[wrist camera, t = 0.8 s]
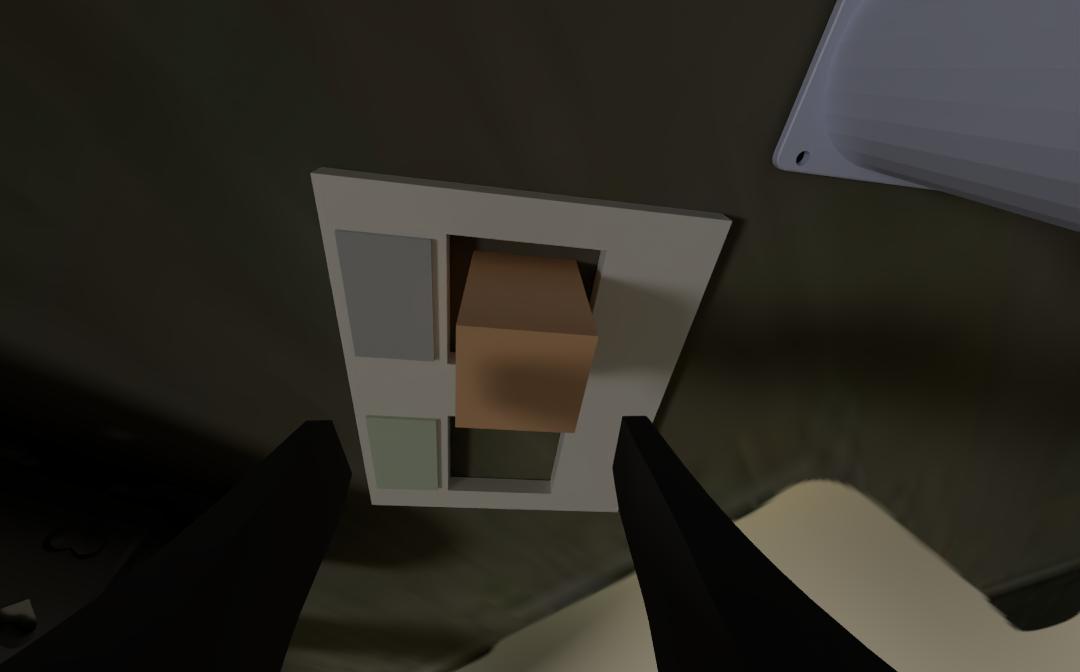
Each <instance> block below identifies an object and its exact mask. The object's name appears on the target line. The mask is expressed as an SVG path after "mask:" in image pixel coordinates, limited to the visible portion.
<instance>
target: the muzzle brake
mask: <svg viewBox="0 0 1080 672" xmlns="http://www.w3.org/2000/svg"><path fill="white" fill-rule="evenodd" d="M32 446H33V444H30V443H26V442H23V441H20V442H17V443H15V444H13V443H10V442H7V441H4V440H1V439H0V664H1V663H3V662H4V661H6V660H7V659H9V658H10V657H12V656H13V655H15V654H16V653H18V652H19V651H21V650H22V649H24V648H25V647H27V646H28V645H29V644H31V643H32V642H34V641H35V640H37V639H38V638H40V637H41V636H42V635H44V634H45V633H47V632H48V631H50V630H51V629H53V628H54V627H55V626H57V625H58V624H60V623H61V622H63V621H64V620H65V619H67V618H68V617H70V616H71V615H73V614H74V613H76V612H77V611H78V610H80V609H81V608H83V607H84V606H86V605H87V604H89V603H90V602H91V601H93V600H94V599H96V598H97V597H98V596H100V595H101V594H102V593H104V592H105V591H106V590H108V589H109V588H110V587H112V586H113V585H114V584H116V583H117V582H118V581H120V580H121V579H122V578H124V577H125V576H126V575H128V574H129V573H130V572H132V571H133V570H134V569H136V568H137V567H138V566H140V565H141V564H142V563H144V562H145V561H146V560H147V559H149V558H150V557H151V556H153V555H154V554H155V553H156V552H158V551H159V550H160V549H161V548H163V547H164V546H165V545H166V544H168V543H169V542H170V541H171V540H173V539H174V538H175V537H176V536H177V535H178V534H180V533H181V532H182V531H183V530H184V529H186V528H187V527H188V526H189V525H190V524H192V523H193V522H194V521H195V520H196V519H197V518H199V517H200V516H201V515H202V514H203V513H205V512H206V511H207V510H208V509H209V508H210V507H212V506H213V505H214V504H215V503H216V502H217V500H215V499H212V498H209V497H206V496H203V495H200V494H197V493H193V492H190V491H187V490H184V489H181V488H178V487H175V486H172V485H169V484H166V483H163V482H158V483H156V484H154V485H152V486H150V487H148V488H146V489H144V490H141V489H137V488H134V487H131V486H128V485H125V484H121V483H118V482H115V481H112V480H109V479H106V478H102V477H99V476H96V475H93V474H90V473H86V472H83V471H80V470H77V469H74V468H70V467H67V466H64V465H61V464H58V463H54V462H51V461H48V460H45V459H42V458H38V457H35V456H32V455H30V454H31V450H32Z"/></svg>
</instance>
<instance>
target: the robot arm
mask: <svg viewBox="0 0 1080 672" xmlns="http://www.w3.org/2000/svg"><path fill="white" fill-rule="evenodd" d="M802 151H804V157H803V159H802V160H801V161H800V162H798V163H796V158H797V156H798V155H799V154H800V153H801V152H802ZM772 159H773V164H774V165H775V167H777V168H779V169H782V170H785V171H793V172H800V173H808V174H816V175H823V176H831V177H839V178H846V179H854V180H861V181H869V182H877V183H884V184H892V185H900V186H907V187H915V188H923V189H930V190H938V191H942V192H946V193H949V194H952V195H956V196H959V197H963V198H966V199H969V200H973V201H976V202H979V203H983V204H986V205H990V206H993V207H996V208H1000V209H1003V210H1006V211H1010V212H1013V213H1017V214H1020V215H1023V216H1027V217H1030V218H1034V219H1037V220H1040V221H1044V222H1047V223H1050V224H1054V225H1057V226H1061V227H1064V228H1067V229H1071V230H1074V231H1077V232H1080V0H837V2H836V4H835V7H834V9H833V12H832V14H831V16H830V19H829V21H828V24H827V26H826V28H825V31H824V33H823V36H822V38H821V40H820V43H819V45H818V48H817V50H816V53H815V55H814V57H813V60H812V62H811V65H810V67H809V69H808V72H807V74H806V77H805V79H804V81H803V84H802V86H801V89H800V91H799V94H798V96H797V98H796V101H795V103H794V106H793V108H792V110H791V113H790V115H789V118H788V120H787V122H786V125H785V127H784V130H783V132H782V135H781V137H780V139H779V142H778V144H777V147H776V149H775V151H774V154H773V158H772ZM612 470H613V477H614V484H615V490H616V496H617V502H618V508H619V512H620V515H621V519H622V523H623V526H624V530H625V534H626V538H627V541H628V545H629V548H630V552H631V556H632V559H633V563H634V567H635V570H636V574H637V577H638V580H639V584H640V588H641V592H642V596H643V599H644V603H645V607H646V612H647V616H648V620H649V625H650V630H651V636H652V641H653V647H654V652H655V657H656V662H657V668H658V672H897V671H896V670H895V669H893V668H892V667H891V666H890V665H888V664H887V663H886V662H885V661H883V660H882V659H881V658H880V657H878V656H877V655H876V654H875V653H873V652H872V651H871V650H870V649H868V648H867V647H866V646H865V645H864V644H862V643H861V642H860V641H859V640H858V639H857V638H856V637H854V636H853V635H852V634H851V633H850V632H848V631H847V630H846V629H845V628H844V627H843V626H842V625H840V624H839V623H838V622H837V621H836V620H834V619H833V618H832V617H831V616H830V615H829V614H828V613H827V612H825V611H824V610H823V609H822V608H821V607H820V606H818V605H817V604H816V603H815V602H814V601H813V600H811V599H810V598H809V597H808V596H807V595H806V594H805V593H804V592H803V591H802V590H801V589H799V588H798V587H797V586H796V585H795V584H794V583H793V582H792V581H791V580H790V579H789V578H788V577H787V576H786V575H784V574H783V573H782V572H781V571H780V570H779V569H778V568H777V567H776V566H775V565H774V564H773V563H772V562H771V561H770V560H769V559H768V558H767V557H766V556H765V555H764V554H763V553H762V552H761V551H760V550H759V549H758V548H757V547H756V546H755V545H754V544H753V543H752V542H751V541H750V540H749V539H748V538H747V537H746V536H745V535H744V534H743V533H742V532H741V530H740V529H739V528H738V527H737V526H736V525H735V524H734V523H733V522H732V521H731V520H730V518H729V517H728V516H727V515H726V514H725V513H724V512H723V511H722V510H721V509H720V507H719V506H718V505H717V504H716V503H715V502H714V500H713V499H712V498H711V497H710V496H709V495H708V494H707V492H706V491H705V490H704V489H703V487H702V486H701V485H700V484H699V483H698V481H697V480H696V479H695V478H694V477H693V475H692V474H691V473H690V472H689V471H688V469H687V468H686V467H685V466H684V464H683V463H682V462H681V460H680V459H679V458H678V457H677V455H676V454H675V453H674V451H673V450H672V449H671V448H670V446H669V445H668V444H667V442H666V441H665V440H664V438H663V437H662V436H661V434H660V433H659V431H658V430H657V429H656V427H655V426H654V425H653V423H652V422H651V421H650V419H649V418H648V417H647V416H622V420H621V426H620V431H619V436H618V441H617V446H616V451H615V456H614V461H613V466H612ZM351 476H352V472H351V470H350V467H349V464H348V462H347V459H346V456H345V454H344V451H343V448H342V446H341V443H340V440H339V438H338V435H337V433H336V430H335V427H334V425H333V422H332V420H322V421H306V422H304V423H303V424H302V425H301V426H300V427H299V428H298V429H297V430H296V431H294V432H293V433H292V434H291V435H290V436H289V437H288V438H287V439H286V440H285V441H284V442H283V443H281V444H280V445H279V446H278V447H277V448H276V449H275V450H274V451H273V452H272V453H271V454H270V455H269V456H267V457H266V458H265V459H264V460H263V461H262V462H261V463H260V464H259V465H258V466H257V467H256V468H254V469H253V470H252V471H251V472H250V473H249V474H248V475H247V476H246V477H244V478H243V479H242V480H241V481H240V482H239V483H238V484H237V485H236V486H234V487H233V488H232V489H231V490H230V491H229V492H228V493H227V494H226V495H225V496H223V497H222V498H221V499H220V500H219V501H218V502H216V503H215V504H214V505H213V506H212V507H210V508H209V509H208V510H207V511H206V512H205V513H203V514H202V515H201V516H200V517H199V518H197V519H196V520H195V521H194V522H193V523H192V524H190V525H189V526H188V527H187V528H186V529H184V530H183V531H182V532H181V533H180V534H178V535H177V536H176V537H175V538H174V539H173V540H171V541H170V542H169V543H168V544H166V545H165V546H164V547H163V548H161V549H160V550H159V551H158V552H156V553H155V554H154V555H153V556H151V557H150V558H149V559H147V560H146V561H145V562H144V563H142V564H141V565H140V566H138V567H137V568H136V569H134V570H133V571H132V572H130V573H129V574H128V575H126V576H125V577H124V578H122V579H121V580H120V581H118V582H117V583H116V584H114V585H113V586H112V587H110V588H109V589H108V590H106V591H105V592H104V593H102V594H101V595H100V596H98V597H97V598H96V599H94V600H93V601H91V602H90V603H89V604H87V605H86V606H84V607H83V608H81V609H80V610H78V611H77V612H76V613H74V614H73V615H71V616H70V617H68V618H67V619H65V620H64V621H63V622H61V623H60V624H58V625H57V626H55V627H54V628H53V629H51V630H50V631H48V632H47V633H45V634H44V635H42V636H41V637H40V638H38V639H37V640H35V641H34V642H32V643H31V644H29V645H28V646H27V647H25V648H24V649H22V650H21V651H19V652H18V653H16V654H15V655H13V656H12V657H10V658H9V659H7V660H6V661H4V662H3V663H1V664H0V672H280V671H281V668H282V665H283V662H284V659H285V655H286V652H287V649H288V646H289V643H290V640H291V637H292V634H293V631H294V628H295V626H296V623H297V620H298V618H299V615H300V612H301V610H302V608H303V605H304V603H305V600H306V598H307V596H308V593H309V591H310V588H311V586H312V584H313V581H314V579H315V576H316V574H317V572H318V569H319V567H320V564H321V562H322V560H323V557H324V555H325V552H326V550H327V547H328V545H329V543H330V540H331V538H332V535H333V533H334V530H335V528H336V525H337V523H338V520H339V518H340V515H341V512H342V509H343V505H344V502H345V498H346V495H347V491H348V487H349V483H350V480H351Z"/></svg>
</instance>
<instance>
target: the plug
mask: <svg viewBox="0 0 1080 672" xmlns="http://www.w3.org/2000/svg"><path fill="white" fill-rule="evenodd" d="M598 337H599V336H598V332H597V329H596V326H595V322H594V319H593V316H592V312H591V309H590V306H589V302H588V299H587V296H586V292H585V289H584V286H583V282H582V279H581V276H580V272H579V269H578V266H577V262H576V260H565V259H555V258H545V257H535V256H525V255H515V254H504V253H494V252H484V251H473V255H472V260H471V264H470V268H469V272H468V277H467V281H466V285H465V289H464V294H463V298H462V302H461V306H460V311H459V315H458V319H457V323H456V392H455V427H462V428H482V429H502V430H522V431H542V432H561V433H575V429H576V425H577V421H578V417H579V413H580V409H581V405H582V401H583V397H584V393H585V389H586V385H587V381H588V377H589V373H590V369H591V365H592V361H593V357H594V353H595V349H596V345H597V341H598Z"/></svg>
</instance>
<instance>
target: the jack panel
mask: <svg viewBox="0 0 1080 672" xmlns="http://www.w3.org/2000/svg"><path fill="white" fill-rule="evenodd" d="M311 179H312V184H313V189H314V195H315V200H316V206H317V211H318V216H319V222H320V227H321V233H322V238H323V243H324V249H325V254H326V260H327V265H328V270H329V276H330V281H331V287H332V292H333V297H334V303H335V308H336V314H337V319H338V324H339V330H340V335H341V341H342V346H343V351H344V357H345V362H346V368H347V373H348V378H349V384H350V389H351V395H352V400H353V405H354V411H355V416H356V422H357V427H358V432H359V438H360V443H361V449H362V454H363V459H364V465H365V470H366V476H367V481H368V486H369V492H370V497H371V503H372V505H396V506H429V507H463V508H497V509H530V510H564V511H597V512H617V511H618V509H619V508H618V502H617V496H616V490H615V484H614V477H613V470H612V466H613V461H614V456H615V451H616V446H617V441H618V436H619V431H620V426H621V420H622V416H647V417H648V418H649V419H650V421H651V422H652V423H653V420H654V418H655V415H656V413H657V410H658V408H659V405H660V403H661V400H662V398H663V395H664V393H665V390H666V388H667V385H668V383H669V380H670V377H671V375H672V372H673V370H674V367H675V365H676V362H677V360H678V357H679V355H680V352H681V350H682V347H683V345H684V342H685V340H686V337H687V335H688V332H689V330H690V327H691V324H692V322H693V319H694V317H695V314H696V312H697V309H698V307H699V304H700V302H701V299H702V297H703V294H704V292H705V289H706V287H707V284H708V282H709V279H710V277H711V274H712V271H713V269H714V266H715V264H716V261H717V259H718V256H719V254H720V251H721V249H722V246H723V244H724V241H725V239H726V236H727V234H728V231H729V229H730V226H731V223H732V220H730V219H729V218H727V217H726V216H725V215H723V214H722V213H714V212H705V211H697V210H688V209H679V208H671V207H662V206H654V205H645V204H636V203H628V202H619V201H610V200H602V199H593V198H585V197H576V196H567V195H559V194H550V193H542V192H533V191H524V190H516V189H507V188H498V187H490V186H481V185H473V184H464V183H455V182H447V181H438V180H429V179H421V178H412V177H404V176H395V175H386V174H378V173H369V172H360V171H352V170H343V169H335V168H326V167H321V168H319V169H317V170H315V171H313V172H311ZM450 235H459V236H469V237H479V238H489V239H498V240H508V241H518V242H528V243H538V244H547V245H557V246H567V247H577V248H587V249H596V250H601V253H600V257H599V262H598V266H597V271H596V275H595V280H594V284H593V289H592V293H591V298H590V303H589V306H590V309H591V312H592V316H593V319H594V322H595V326H596V329H597V332H598V336H599V337H598V341H597V345H596V349H595V353H594V357H593V361H592V365H591V369H590V373H589V377H588V381H587V385H586V389H585V393H584V397H583V401H582V405H581V409H580V413H579V417H578V421H577V425H576V429H575V433H561V434H560V439H559V443H558V448H557V452H556V457H555V461H554V466H553V471H552V475H551V480H550V481H548V480H522V479H495V478H469V477H450V416H455V392H456V352H450Z"/></svg>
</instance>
